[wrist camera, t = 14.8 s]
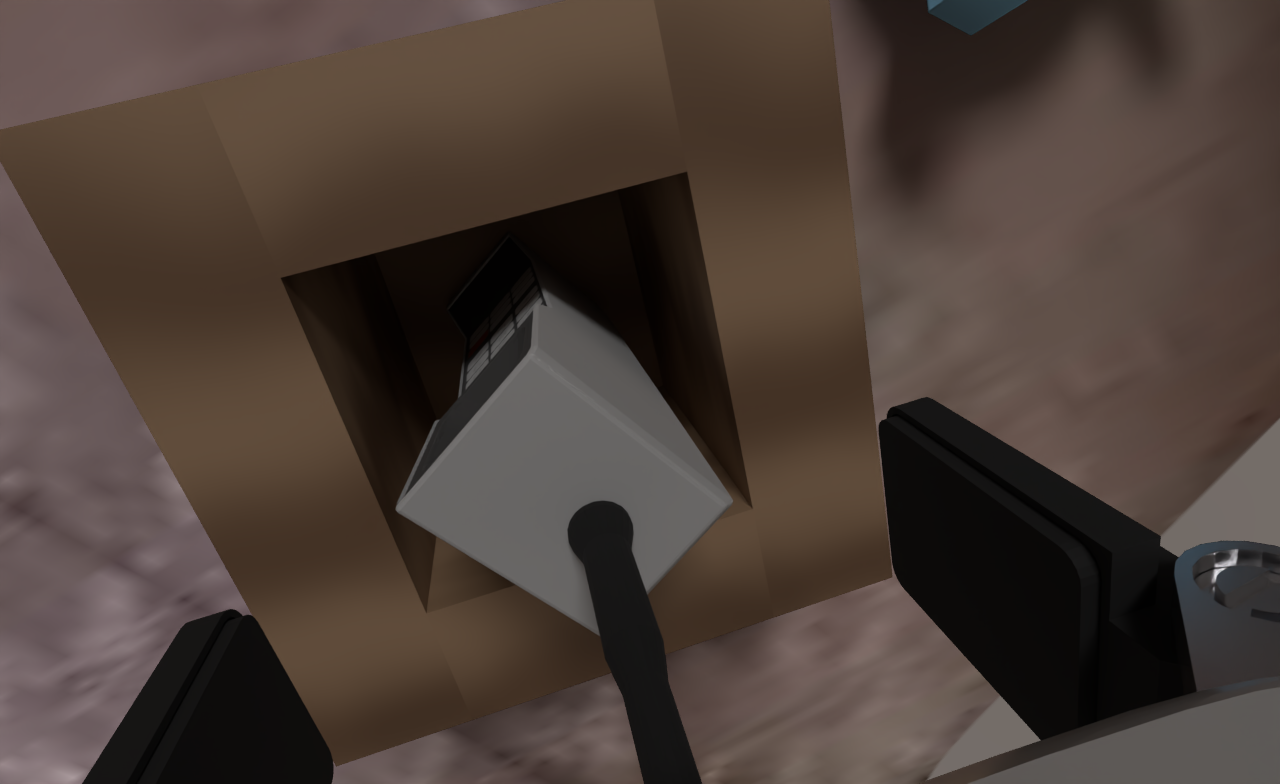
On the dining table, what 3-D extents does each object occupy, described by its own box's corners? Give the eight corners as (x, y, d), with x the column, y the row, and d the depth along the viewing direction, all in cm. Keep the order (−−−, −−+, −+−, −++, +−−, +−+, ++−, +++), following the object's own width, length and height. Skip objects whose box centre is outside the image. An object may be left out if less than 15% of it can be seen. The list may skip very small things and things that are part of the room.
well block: (213, 138, 24) (-16, 133, 13) (682, 26, 26) (822, -59, 15) (390, 543, 31) (336, 766, 20) (756, 431, 33) (892, 577, 22)
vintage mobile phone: (508, 228, 26) (633, 803, 3) (604, 310, 28) (1107, 1042, 5) (446, 302, 27) (195, 1243, 4) (545, 378, 29) (772, 1325, 6)
